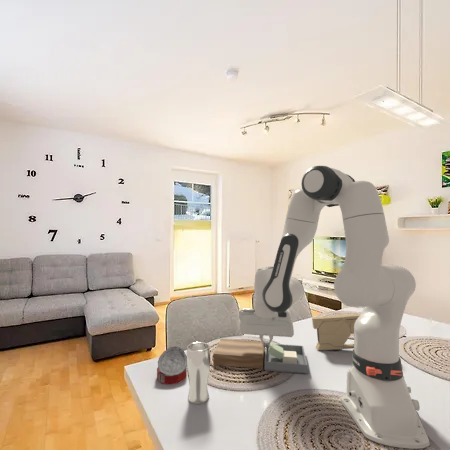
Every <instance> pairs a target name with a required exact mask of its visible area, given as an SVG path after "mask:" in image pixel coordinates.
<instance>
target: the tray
mask: <svg viewBox="0 0 450 450" xmlns="http://www.w3.org/2000/svg"><path fill="white" fill-rule="evenodd" d="M275 344H276V345H278V346H280V347H282V348H283V351H296V354H297V364H293V363H283V356H282V358H281V360H280V359H278V358H276V357H275V356H273V355H271V354H269V353H268V348H269V347H265V354H264V372H276V373H277V372H278V373H288V374H289V373H290V374H299V375H301V374H302V375H308V369H309V368H308V365H309V364H308V361H307V358H306V353H305V349H304V346H303V345H296V344H295V345H294V344H282V343H281V344H280V343H275Z"/></svg>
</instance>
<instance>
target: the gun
mask: <svg viewBox="0 0 450 450" xmlns="http://www.w3.org/2000/svg"><path fill="white" fill-rule="evenodd" d="M360 315H361V313H354V314H352V313H351V314H350V313H349V314H341V315H340V314H339V315H328V316H327V315H326V316H323V315H322V316H312V317H311V322H312V328H313V329H314V330H316V334H317V343H316V345H315V349H316V350H317V351H319V352H323V351H340V350H341V351H342V350H344V349H345V350H348V349H352V350H353V349H354V343H346V342H347V341H348V340H349V338H350V337H351V335H352V334H353V335H354V324H355V322H356V320H357V318H358V317H359V316H360Z"/></svg>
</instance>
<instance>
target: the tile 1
mask: <svg viewBox="0 0 450 450" xmlns="http://www.w3.org/2000/svg"><path fill="white" fill-rule="evenodd" d="M276 344H277V343H274V342H272V341H271V343H270V347H269V348H268V353H269V354H271V355H273V356H275V357H276V358H278V359H280V360H281V358H282V356H283V354H284V352H283V348H282V347H280V346H278V345H276Z"/></svg>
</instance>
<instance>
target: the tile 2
mask: <svg viewBox="0 0 450 450" xmlns="http://www.w3.org/2000/svg"><path fill="white" fill-rule="evenodd" d="M283 352H284V354H283V363H293V364H297V354H296V351H283Z"/></svg>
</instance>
